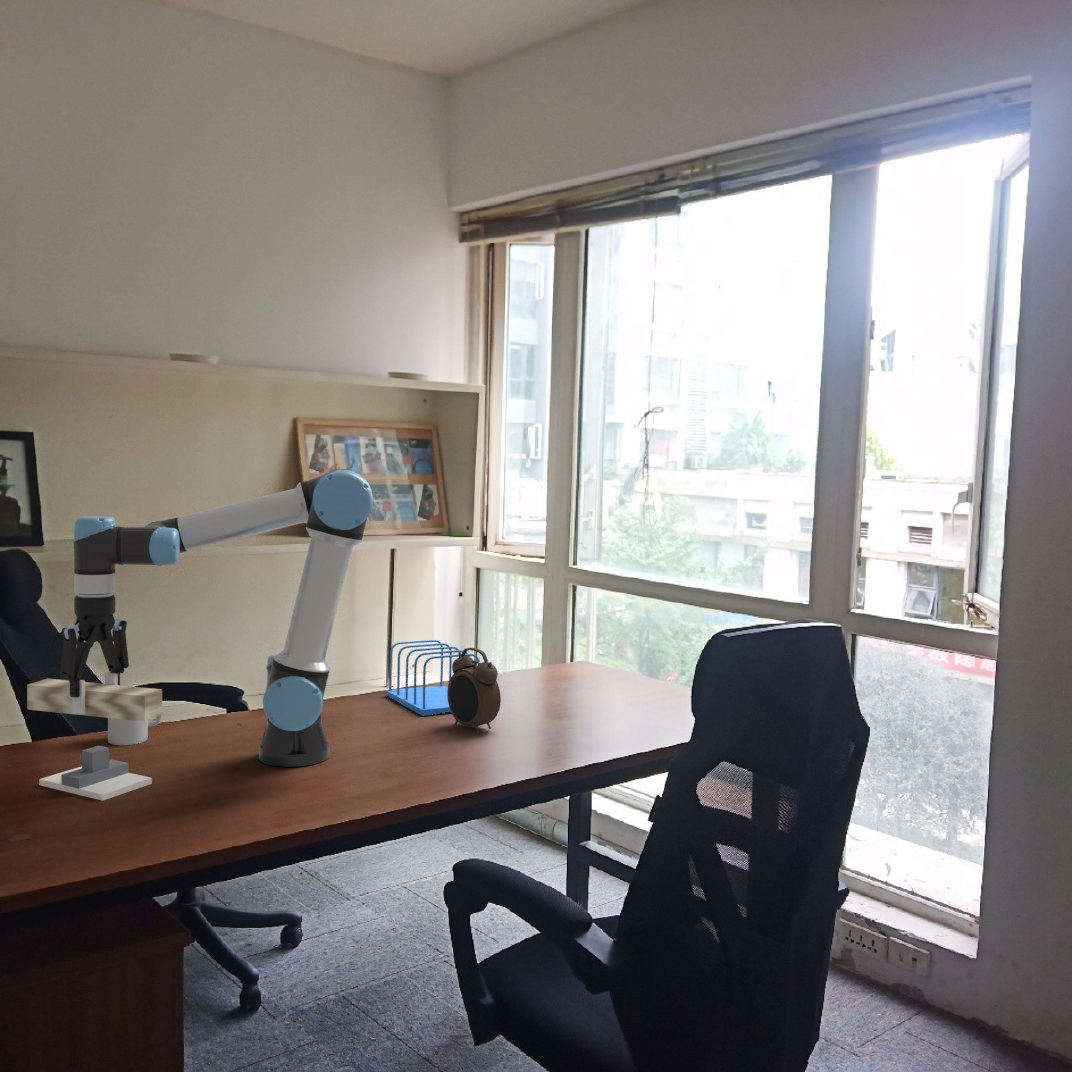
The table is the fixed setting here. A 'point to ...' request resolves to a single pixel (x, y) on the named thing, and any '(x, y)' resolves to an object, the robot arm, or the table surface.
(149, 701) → the oak bar
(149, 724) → the mug
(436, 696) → the file sorter
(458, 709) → the alarm clock
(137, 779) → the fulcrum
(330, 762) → the table surface
